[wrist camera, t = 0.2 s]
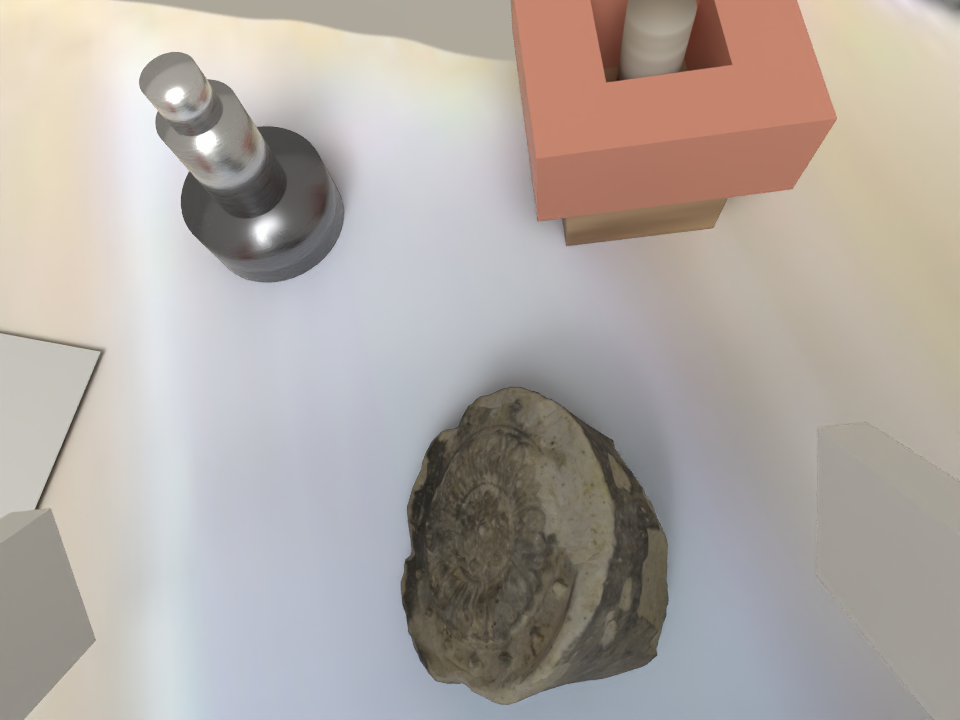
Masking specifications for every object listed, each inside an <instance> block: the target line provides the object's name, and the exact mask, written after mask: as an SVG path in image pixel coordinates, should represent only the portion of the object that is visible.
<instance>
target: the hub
mask: <svg viewBox="0 0 960 720" xmlns="http://www.w3.org/2000/svg"><path fill="white" fill-rule="evenodd" d="M139 85H140V89H141V91H142V92H143V93H144V95H145V96H146V97H147V98H148V99H149V101H150V102H151V103H152V104H153V105H154V107H155V108H156V109H157V110H158V112H157V115H156V130H157V133H158V135H159V136H160V138H161V139H162V140H163V141H164V143H165V144H166V145H167V146H168V147H169V148H170V149H171V150H172V152H173V153H174V154H175V155H176V156H177V157H178V158H179V160H180V161H181V162H182V163H183V164H184V165H185V166H186V168H187V169H188V170H189V173H188V175H187V177H186V179H185V182H184V185H183V189H182V195H181V209H182V214H183V218H184V221H185V223H186V225H187V227H188V228H189V230H190V231H191V232H192V234H193V235H194V236H195V237H196V238H197V239H198V240H199V241H200V242H201V243H202V244H203V245H204V246H205V247H206V248H208V249H209V250H210V251H211V252H212V253H213V254H214V255H215V256H216V257H217V258H218V259H219V260H220V261H221V262H222V263H223V264H224V265H225V266H226V267H227V268H228V269H229V270H230V271H232V272H233V273H235V274H236V275H238V276H240V277H242V278H245V279H248V280H251V281H257V282H278V281H283V280H287V279H290V278H294V277H296V276H298V275H301V274H303V273H304V272H306V271H308V270H310V269H311V268H313V267H314V266H315V265H317V264H318V263H319V262H320V261H321V260H322V259H323V258H324V257H325V256H326V255H327V254H328V253H329V252H330V250H331V249H332V247H333V246H334V244H335V243H336V241H337V239H338V237H339V234H340V231H341V229H342V224H343V216H344V210H343V203H342V199H341V196H340V194H339V191H338V190H337V188H336V186H335V184H334V182H333V180H332V178H331V177H330V175H329V173H328V171H327V169H326V167H325V165H324V164H323V162H322V160H321V158H320V156H319V154H318V153H317V151H316V150H315V148H314V147H313V146H312V145H311V143H310V142H308V141H307V140H306V139H305V138H304V137H302V136H300V135H299V134H297V133H295V132H292V131H290V130H287V129H283V128H278V127H265V126H263V127H256V126H255V124H254V123H253V121H252V120H251V118H250V117H249V115H248V113H247V112H246V110H245V109H244V107H243V106H242V104H241V103H240V101H239V99H238V98H237V96H236V95H235V93H234V92H233V90H232V89H231V88H230V87H229V86H227V85H226V84H224V83H222V82H220V81H216V80H209V79H206V77H205V76H204V74H203V73H202V71H201V70H200V68H199V67H198V66H197V64H196V63H195V61H194V60H193V59H192V58H191V57H190V56H189V55H187V54H184V53H180V52H170V53H166V54H163V55H160V56H158V57H156V58H155V59H153V60H152V61H151V62H149V63H148V64H147V65H146V67H145V68H144V69H143V71H142V73H141V75H140V79H139Z"/></svg>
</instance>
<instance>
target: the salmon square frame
mask: <svg viewBox="0 0 960 720" xmlns="http://www.w3.org/2000/svg"><path fill="white" fill-rule="evenodd" d="M628 1H629V0H511V12H512V29H513V38H514V45H515V53H516V61H517V68H518V76H519V84H520V91H521V99H522V106H523V114H524V121H525V129H526V137H527V144H528V152H529V159H530V167H531V174H532V182H533V190H534V197H535V205H536V212H537V220H538V221H544V220H552V219H560V218H568V217H576V216H584V215H592V214H600V213H608V212H615V211H623V210H631V209H639V208H647V207H655V206H663V205H671V204H679V203H687V202H695V201H703V200H710V199H718V198H726V197H734V196H742V195H750V194H758V193H766V192H774V191H782V190H790V189H793V187H794V186H795V184H796V182H797V181H798V179H799V178H800V176H801V175H802V173H803V171H804V170H805V168H806V167H807V165H808V164H809V162H810V160H811V159H812V157H813V156H814V154H815V153H816V151H817V149H818V148H819V146H820V145H821V143H822V141H823V140H824V138H825V137H826V135H827V134H828V132H829V130H830V129H831V127H832V126H833V124H834V123H835V121H836V119H837V117H836V114H835V111H834V108H833V106H832V103H831V100H830V97H829V94H828V91H827V88H826V85H825V82H824V79H823V76H822V73H821V70H820V67H819V64H818V61H817V58H816V56H815V53H814V50H813V47H812V44H811V41H810V38H809V35H808V32H807V29H806V26H805V23H804V20H803V17H802V14H801V11H800V9H799V6H798V3H797V0H695V1H696V4H697V11H696V15H695V19H694V23H693V26H692V30H691V34H690V38H689V41H688V45H687V49H686V53H685V56H684V57H685V61H686V65H687V69H688V71H685V72H678V73H671V74H664V75H657V76H650V77H642V78H635V79H628V80H621V81H614V82H607V83H606V80H605V74H604V69H603V68H610V67H617V66H618V65H619V58H620V51H621V44H622V37H623V30H624V23H625V16H626V9H627V3H628Z"/></svg>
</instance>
